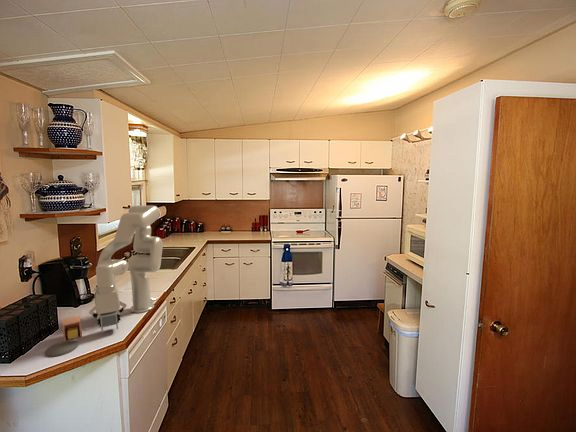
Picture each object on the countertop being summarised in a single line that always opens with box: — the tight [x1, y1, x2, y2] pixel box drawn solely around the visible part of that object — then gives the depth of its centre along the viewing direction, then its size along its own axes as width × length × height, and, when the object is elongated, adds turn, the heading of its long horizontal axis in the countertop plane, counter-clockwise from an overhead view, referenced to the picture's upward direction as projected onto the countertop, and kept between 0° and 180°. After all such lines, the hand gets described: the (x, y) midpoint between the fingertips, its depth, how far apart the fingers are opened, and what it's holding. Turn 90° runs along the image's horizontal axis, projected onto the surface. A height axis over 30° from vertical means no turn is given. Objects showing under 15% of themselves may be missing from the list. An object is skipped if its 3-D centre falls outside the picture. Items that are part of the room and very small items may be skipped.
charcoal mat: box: [44, 340, 79, 358], centre depth 141 cm, size 12×12×1 cm
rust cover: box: [62, 315, 83, 342], centre depth 153 cm, size 7×7×8 cm
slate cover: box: [100, 311, 119, 333], centre depth 156 cm, size 7×7×8 cm
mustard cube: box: [67, 326, 79, 340], centre depth 153 cm, size 4×4×4 cm
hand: (109, 323), depth 156 cm, fingers closed on slate cover, 7 cm apart
